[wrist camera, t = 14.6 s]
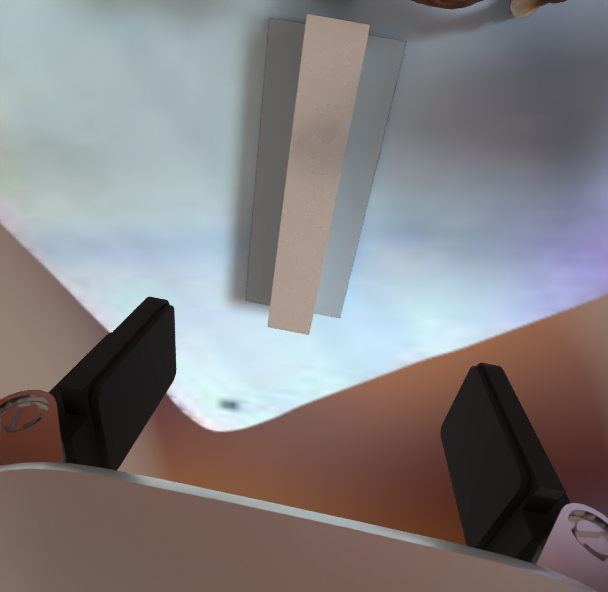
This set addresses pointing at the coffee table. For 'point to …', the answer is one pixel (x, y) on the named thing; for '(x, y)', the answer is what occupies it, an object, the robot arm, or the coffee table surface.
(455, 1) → the horse figurine
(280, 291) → the rail
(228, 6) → the coffee table surface
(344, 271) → the mat
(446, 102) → the coffee table surface
